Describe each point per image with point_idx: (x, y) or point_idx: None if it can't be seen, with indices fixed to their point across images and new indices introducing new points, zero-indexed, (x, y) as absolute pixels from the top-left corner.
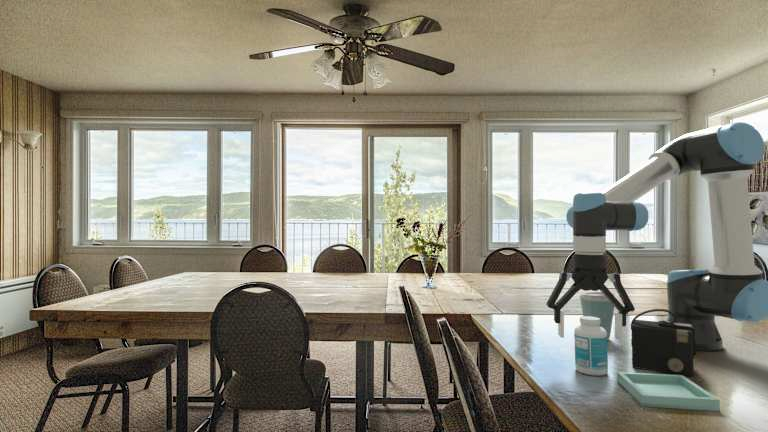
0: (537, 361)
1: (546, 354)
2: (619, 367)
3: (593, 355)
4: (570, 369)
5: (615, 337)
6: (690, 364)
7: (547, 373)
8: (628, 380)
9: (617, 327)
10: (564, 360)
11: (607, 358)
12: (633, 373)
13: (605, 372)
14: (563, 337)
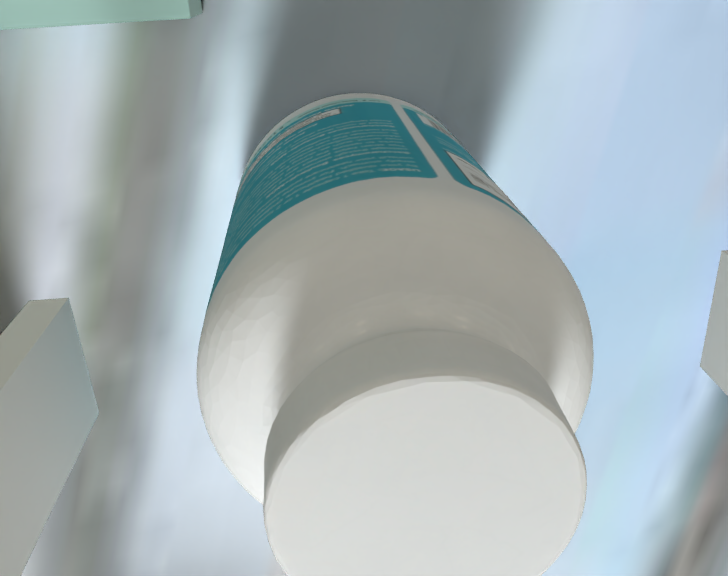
0: (690, 349)
1: None
2: (126, 354)
3: (385, 127)
4: None
5: (93, 404)
6: None
7: (713, 88)
8: None
9: (22, 434)
10: None
11: (232, 211)
12: (47, 3)
13: (269, 131)
14: (726, 251)
